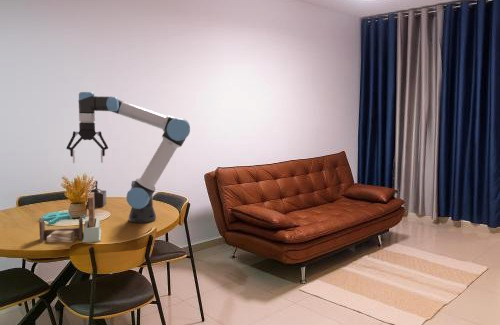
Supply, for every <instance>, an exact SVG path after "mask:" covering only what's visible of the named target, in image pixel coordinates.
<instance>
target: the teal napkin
mask: <svg viewBox="0 0 500 325" xmlns="http://www.w3.org/2000/svg"><path fill="white" fill-rule="evenodd" d="M68 212H69V211H54V212H48V213H47V212H46V213H45V214H44V215H42V216H40V217H39V221H40V220H41V219H42V218H44V221H47V222H48V223H47V224H48V225H49V226H52V225H51V224H54V225H55V224H57V223H56V222H57V221H58V222H60V221H61V219H63V220H67V219H66V218H68V219H69V218H70V219H69V220H72V219H71V216H70V215H69V213H68ZM83 215H84V216H82V218H85V219H87V218H86V215H85V214H83ZM50 220H51V221H50Z"/></svg>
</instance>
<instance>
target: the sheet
mask: <svg viewBox="0 0 500 325" xmlns="http://www.w3.org/2000/svg"><path fill="white" fill-rule="evenodd" d="M88 202H89V207H88V218H89V228H90V227H95V218H96V214H95V209H96V207H95V205H94V192H90V194H89V198H88Z"/></svg>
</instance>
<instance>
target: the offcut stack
mask: <svg viewBox="0 0 500 325" xmlns="http://www.w3.org/2000/svg"><path fill="white" fill-rule="evenodd" d="M74 234H75V231H54V232H53V233H51V234H50V235H49V236H47V239H46V243H74V242H75V241H76V240H78V239H77V237H78V236H75V237H74Z"/></svg>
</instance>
